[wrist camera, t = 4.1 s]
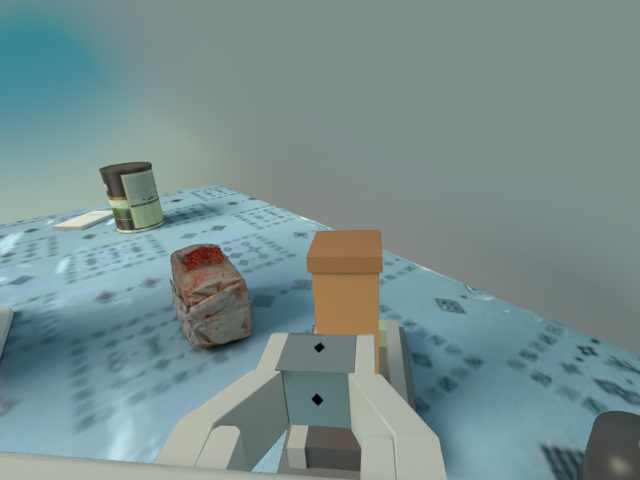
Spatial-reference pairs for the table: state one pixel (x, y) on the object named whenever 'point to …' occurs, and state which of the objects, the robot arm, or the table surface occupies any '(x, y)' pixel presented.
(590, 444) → the dark grey handled piece
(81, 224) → the external hard drive
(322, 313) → the lever
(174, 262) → the food item
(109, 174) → the coffee can
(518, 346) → the table surface
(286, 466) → the grey flat rectangular frame
